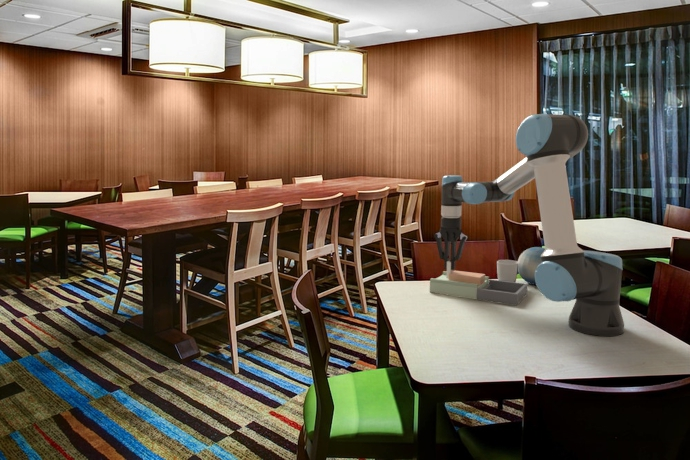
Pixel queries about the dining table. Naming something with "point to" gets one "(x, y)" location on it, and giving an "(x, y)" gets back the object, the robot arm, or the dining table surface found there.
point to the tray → (502, 292)
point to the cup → (507, 270)
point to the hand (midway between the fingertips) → (449, 277)
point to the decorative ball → (530, 263)
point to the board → (455, 287)
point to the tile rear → (457, 276)
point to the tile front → (474, 278)
